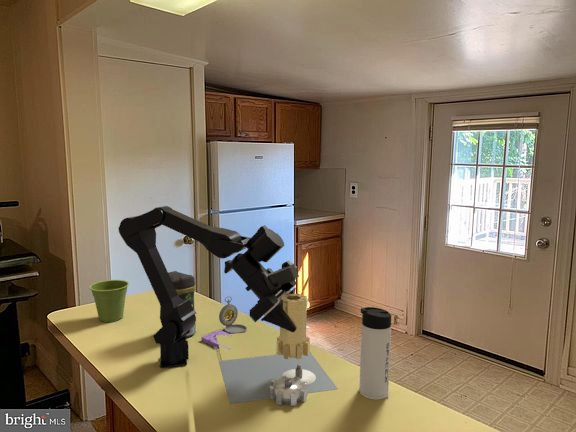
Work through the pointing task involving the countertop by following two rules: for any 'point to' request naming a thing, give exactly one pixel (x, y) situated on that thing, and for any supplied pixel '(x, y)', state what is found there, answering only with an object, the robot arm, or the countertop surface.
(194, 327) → the coffee jar
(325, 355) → the countertop surface
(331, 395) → the countertop surface
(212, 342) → the sponges
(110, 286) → the plant pot
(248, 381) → the gear board
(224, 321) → the pocket watch
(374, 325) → the travel mug
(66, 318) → the countertop surface
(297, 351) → the gear
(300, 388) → the gear
